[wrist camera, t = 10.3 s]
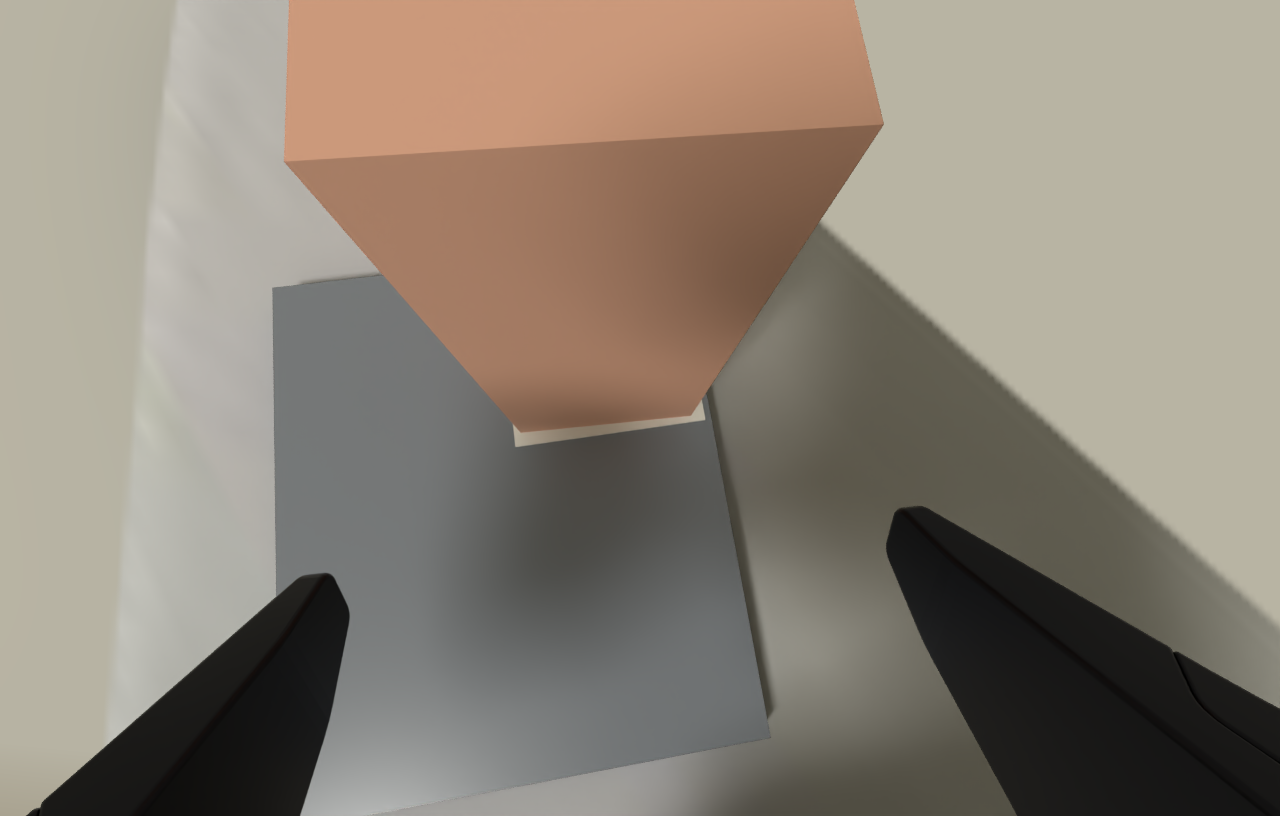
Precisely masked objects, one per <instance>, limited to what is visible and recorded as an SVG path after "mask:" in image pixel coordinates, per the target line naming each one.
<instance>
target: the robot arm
mask: <svg viewBox="0 0 1280 816" xmlns="http://www.w3.org/2000/svg"><path fill="white" fill-rule="evenodd" d="M886 551H887V556H888V559H889V562H890V564H891V566H892V569H893V571H894V574H895V576H896V578H897V581H898V583H899V586H900V588H901V590H902V593H903V595H904V598H905V600H906V602H907V605H908V607H909V610H910V612H911V614H912V617H913V619H914V622H915V624H916V626H917V629H918V631H919V633H920V635H921V638H922V640H923V642H924V644H925V646H926V648H927V650H928V652H929V654H930V656H931V658H932V660H933V661H934V663H935V665H936V667H937V669H938V671H939V673H940V674H941V676H942V678H943V680H944V682H945V684H946V685H947V687H948V689H949V691H950V693H951V695H952V696H953V698H954V700H955V702H956V704H957V706H958V707H959V709H960V711H961V713H962V715H963V717H964V719H965V720H966V722H967V724H968V726H969V728H970V730H971V731H972V733H973V735H974V737H975V739H976V741H977V742H978V744H979V746H980V748H981V750H982V752H983V753H984V755H985V757H986V759H987V761H988V763H989V765H990V766H991V768H992V770H993V772H994V774H995V776H996V777H997V779H998V781H999V783H1000V785H1001V787H1002V788H1003V790H1004V792H1005V794H1006V796H1007V798H1008V799H1009V801H1010V803H1011V805H1012V807H1013V809H1014V811H1015V812H1016V814H1017V816H1280V708H1278V707H1276V706H1274V705H1272V704H1270V703H1268V702H1266V701H1264V700H1263V699H1261V698H1259V697H1257V696H1255V695H1254V694H1252V693H1250V692H1248V691H1246V690H1245V689H1243V688H1241V687H1239V686H1237V685H1236V684H1234V683H1232V682H1230V681H1228V680H1227V679H1225V678H1223V677H1221V676H1219V675H1218V674H1216V673H1214V672H1212V671H1210V670H1209V669H1207V668H1205V667H1204V666H1202V665H1200V664H1198V663H1197V662H1195V661H1193V660H1191V659H1190V658H1188V657H1186V656H1184V655H1183V654H1181V653H1179V652H1173V651H1172V649H1171V648H1170V647H1168V646H1167V645H1165V644H1163V643H1161V642H1160V641H1158V640H1156V639H1154V638H1153V637H1151V636H1149V635H1147V634H1146V633H1144V632H1142V631H1140V630H1139V629H1137V628H1135V627H1134V626H1132V625H1130V624H1128V623H1127V622H1125V621H1123V620H1121V619H1120V618H1118V617H1116V616H1114V615H1113V614H1111V613H1109V612H1107V611H1106V610H1104V609H1102V608H1100V607H1099V606H1097V605H1095V604H1093V603H1092V602H1090V601H1088V600H1086V599H1085V598H1083V597H1081V596H1079V595H1078V594H1076V593H1074V592H1073V591H1071V590H1069V589H1067V588H1066V587H1064V586H1062V585H1060V584H1059V583H1057V582H1055V581H1053V580H1052V579H1050V578H1048V577H1046V576H1045V575H1043V574H1041V573H1039V572H1038V571H1036V570H1034V569H1032V568H1031V567H1029V566H1027V565H1025V564H1024V563H1022V562H1020V561H1018V560H1017V559H1015V558H1013V557H1012V556H1010V555H1008V554H1006V553H1005V552H1003V551H1001V550H999V549H998V548H996V547H994V546H992V545H991V544H989V543H987V542H985V541H984V540H982V539H980V538H978V537H977V536H975V535H973V534H971V533H970V532H968V531H966V530H964V529H963V528H961V527H959V526H957V525H956V524H954V523H952V522H950V521H949V520H947V519H945V518H944V517H942V516H940V515H938V514H937V513H935V512H933V511H931V510H930V509H928V508H926V507H923V506H913V507H904V508H899V509H897V510H896V512H895V513H894V516H893V520H892V524H891V527H890V531H889V535H888V539H887V543H886ZM349 621H350V612H349V607H348V605H347V603H346V601H345V598H344V596H343V594H342V592H341V590H340V588H339V586H338V584H337V582H336V580H335V578H334V576H333V575H331V574H330V573H317V574H308V575H303V576H301V577H299V578H297V579H296V580H295V581H294V582H292V583H291V584H290V585H289V586H288V587H287V588H286V589H284V590H283V591H282V592H281V593H280V594H279V595H278V596H276V597H275V598H274V599H273V600H272V601H271V602H270V603H269V604H267V605H266V606H265V607H264V608H263V609H262V610H261V611H259V612H258V613H257V614H256V615H255V616H254V617H253V618H251V619H250V620H249V621H248V622H247V623H246V624H245V625H243V626H242V627H241V628H240V629H239V630H238V631H237V632H235V633H234V634H233V635H232V636H231V637H230V638H229V639H227V640H226V641H225V642H224V643H223V644H222V645H221V646H219V647H218V648H217V649H216V650H215V651H214V652H213V653H211V654H210V655H209V656H208V657H207V658H206V659H205V660H204V661H202V662H201V663H200V664H199V665H198V666H197V667H196V668H194V669H193V670H192V671H191V672H190V673H189V674H188V675H186V676H185V677H184V678H183V679H182V680H181V681H180V682H178V683H177V684H176V685H175V686H174V687H173V688H172V689H170V690H169V691H168V692H167V693H166V694H165V695H164V696H162V697H161V698H160V699H159V700H158V701H157V702H156V703H154V704H153V705H152V706H151V707H150V708H149V709H148V710H146V711H145V712H144V713H143V714H142V715H141V716H140V717H138V718H137V719H136V720H135V721H134V722H133V723H132V724H131V725H129V726H128V727H127V728H126V729H125V730H124V731H123V732H121V733H120V734H119V735H118V736H117V737H116V738H115V739H113V740H112V741H111V742H110V743H109V744H108V745H107V746H105V747H104V748H103V749H102V750H101V751H100V752H99V753H97V754H96V755H95V756H94V757H93V758H92V759H91V760H89V761H88V762H87V763H86V764H85V765H84V766H83V767H81V769H79V770H78V771H77V772H76V773H75V774H74V775H72V776H71V777H70V778H69V779H68V780H67V781H65V782H64V783H63V784H62V785H61V786H60V787H59V788H58V789H57V790H56V791H54V792H53V793H52V794H51V795H49V796H48V797H47V798H46V799H45V800H44V801H43V802H42V804H41V807H40V808H36V809H34V810H32V811H31V812H30V813H29V814H28V815H26V816H300V815H301V812H302V809H303V806H304V803H305V799H306V796H307V793H308V790H309V787H310V783H311V780H312V777H313V774H314V770H315V767H316V764H317V761H318V758H319V754H320V751H321V748H322V745H323V742H324V738H325V735H326V731H327V728H328V724H329V720H330V716H331V712H332V707H333V703H334V698H335V693H336V687H337V682H338V677H339V672H340V667H341V662H342V657H343V652H344V647H345V642H346V637H347V632H348V627H349Z"/></svg>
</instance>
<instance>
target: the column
mask: <svg viewBox="0 0 1280 816" xmlns="http://www.w3.org/2000/svg"><path fill="white" fill-rule="evenodd" d="M883 125H884V123H883V119H882V114H881V110H880V106H879V103H878V98H877V94H876V90H875V85H874V81H873V77H872V73H871V69H870V65H869V60H868V56H867V52H866V48H865V44H864V40H863V35H862V32H861V27H860V23H859V20H858V15H857V11H856V6H855V2H854V0H289V22H288V54H287V86H286V118H285V150H284V162H285V163H286V164H287V166H288V167H289V168H290V169H291V170H292V171H293V172H294V174H295V175H296V176H297V177H298V178H299V179H300V180H301V182H302V183H303V184H304V185H305V186H306V187H307V188H308V190H309V191H310V192H311V193H312V194H313V195H314V196H315V198H316V199H317V200H318V201H319V202H320V203H321V204H322V206H323V207H324V208H325V209H326V210H327V211H328V213H329V214H330V215H331V216H332V217H333V218H334V219H335V221H336V222H337V223H338V224H339V225H340V226H341V227H342V229H343V230H344V231H345V232H346V233H347V234H348V235H349V237H350V238H351V239H352V240H353V241H354V242H355V243H356V245H357V246H358V247H359V248H360V249H361V250H362V251H363V253H364V254H365V255H366V256H367V257H368V258H369V260H370V261H371V262H372V263H373V264H374V265H375V266H376V268H377V269H378V270H379V271H380V272H381V273H382V274H383V276H384V277H385V278H386V279H387V280H388V281H389V282H390V284H391V285H392V286H393V287H394V288H395V289H396V290H397V292H398V293H399V294H400V295H401V296H402V297H403V298H404V300H405V301H406V302H407V303H408V304H409V305H410V307H411V308H412V309H413V310H414V311H415V312H416V313H417V315H418V316H419V317H420V318H421V319H422V320H423V321H424V323H425V324H426V325H427V326H428V327H429V328H430V329H431V331H432V332H433V333H434V334H435V335H436V336H437V337H438V339H439V340H440V341H441V342H442V343H443V344H444V345H445V347H446V348H447V349H448V350H449V351H450V352H451V354H452V355H453V356H454V357H455V358H456V359H457V360H458V362H459V363H460V364H461V365H462V366H463V367H464V368H465V370H466V371H467V372H468V373H469V374H470V375H471V376H472V378H473V379H474V380H475V381H476V382H477V383H478V384H479V386H480V387H481V388H482V389H483V390H484V391H485V392H486V394H487V395H488V396H489V397H490V398H491V399H492V401H493V402H494V403H495V404H496V405H497V406H498V407H499V409H500V410H501V411H502V412H503V413H504V414H505V415H506V417H507V418H508V419H509V420H510V421H511V422H512V423H513V425H514V426H515V427H516V428H517V429H518V430H519V431H520V433H523V432H533V431H543V430H553V429H563V428H573V427H583V426H593V425H603V424H613V423H623V422H633V421H643V420H653V419H663V418H673V417H683V416H691V415H692V413H693V412H694V410H695V409H696V407H697V406H698V404H699V403H700V401H701V400H702V398H703V397H704V395H705V394H706V392H707V391H708V389H709V388H710V386H711V385H712V383H713V382H714V380H715V379H716V377H717V375H718V374H719V372H720V371H721V369H722V368H723V366H724V365H725V363H726V362H727V360H728V359H729V357H730V356H731V354H732V353H733V351H734V350H735V348H736V347H737V345H738V344H739V342H740V341H741V339H742V338H743V336H744V335H745V333H746V332H747V330H748V329H749V327H750V326H751V324H752V323H753V321H754V320H755V318H756V317H757V315H758V314H759V312H760V311H761V309H762V308H763V306H764V305H765V303H766V302H767V300H768V298H769V297H770V295H771V294H772V292H773V291H774V289H775V288H776V286H777V285H778V283H779V282H780V280H781V279H782V277H783V276H784V274H785V273H786V271H787V270H788V268H789V267H790V265H791V264H792V262H793V261H794V259H795V258H796V256H797V255H798V253H799V252H800V250H801V249H802V247H803V246H804V244H805V243H806V241H807V240H808V238H809V237H810V235H811V234H812V232H813V231H814V229H815V228H816V226H817V225H818V223H819V221H820V220H821V218H822V217H823V215H824V214H825V212H826V211H827V209H828V207H829V206H830V205H831V203H832V202H833V200H834V199H835V197H836V196H837V194H838V193H839V191H840V190H841V188H842V187H843V185H844V184H845V182H846V181H847V179H848V178H849V176H850V175H851V173H852V172H853V170H854V169H855V167H856V166H857V164H858V163H859V161H860V160H861V158H862V156H863V155H864V153H865V152H866V150H867V149H868V148H869V146H870V144H871V143H872V141H873V140H874V138H875V137H876V135H877V134H878V132H879V131H880V129H881V128H882V126H883Z"/></svg>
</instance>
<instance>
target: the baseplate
mask: <svg viewBox="0 0 1280 816" xmlns="http://www.w3.org/2000/svg"><path fill="white" fill-rule="evenodd" d="M272 290H273V370H274V449H275V529H276V596H278V595H279V594H280V593H281V592H282V591H283V590H284V589H286V588H287V587H288V586H289V585H290V584H291V583H292V582H294V581H295V580H296V579H297V578H299V577H301V576H303V575H308V574H317V573H330V574H331V575H333V576H334V578H335V580H336V582H337V584H338V586H339V588H340V590H341V592H342V594H343V596H344V598H345V601H346V603H347V605H348V607H349V612H350V621H349V627H348V632H347V637H346V642H345V647H344V652H343V657H342V662H341V667H340V672H339V677H338V682H337V687H336V693H335V698H334V703H333V707H332V712H331V716H330V720H329V724H328V728H327V731H326V735H325V738H324V742H323V745H322V748H321V751H320V754H319V758H318V761H317V764H316V767H315V770H314V774H313V777H312V780H311V783H310V787H309V790H308V793H307V796H306V799H305V803H304V806H303V809H302V812H301V815H300V816H369V815H374V814H379V813H384V812H389V811H395V810H400V809H405V808H410V807H415V806H421V805H426V804H431V803H436V802H441V801H446V800H452V799H457V798H462V797H467V796H472V795H477V794H483V793H488V792H493V791H498V790H503V789H508V788H514V787H519V786H524V785H529V784H534V783H540V782H545V781H550V780H555V779H560V778H565V777H571V776H576V775H581V774H586V773H591V772H596V771H602V770H607V769H612V768H617V767H622V766H627V765H633V764H638V763H643V762H648V761H653V760H659V759H664V758H669V757H674V756H679V755H684V754H690V753H695V752H700V751H705V750H710V749H715V748H721V747H726V746H731V745H736V744H741V743H746V742H752V741H757V740H762V739H767V738H771V737H770V731H769V726H768V721H767V715H766V710H765V704H764V699H763V694H762V688H761V683H760V678H759V672H758V667H757V661H756V656H755V651H754V645H753V640H752V635H751V629H750V624H749V618H748V613H747V608H746V602H745V597H744V592H743V586H742V581H741V575H740V570H739V565H738V559H737V554H736V549H735V543H734V538H733V532H732V527H731V522H730V516H729V511H728V506H727V500H726V495H725V489H724V484H723V479H722V473H721V468H720V462H719V457H718V452H717V446H716V441H715V436H714V430H713V425H712V419H711V414H710V409H709V403H708V398H707V393H706V394H705V395H704V397H703V398H702V400H701V401H700V403H699V404H698V406H697V407H696V409H695V410H694V412H693V413H692V415H691V416H683V417H673V418H663V419H653V420H643V421H633V422H623V423H613V424H603V425H593V426H583V427H573V428H563V429H553V430H543V431H533V432H523V433H520V431H519V430H518V429H517V428H516V427H515V426H514V425H513V423H512V422H511V421H510V420H509V419H508V418H507V417H506V415H505V414H504V413H503V412H502V411H501V410H500V409H499V407H498V406H497V405H496V404H495V403H494V402H493V401H492V399H491V398H490V397H489V396H488V395H487V394H486V392H485V391H484V390H483V389H482V388H481V387H480V386H479V384H478V383H477V382H476V381H475V380H474V379H473V378H472V376H471V375H470V374H469V373H468V372H467V371H466V370H465V368H464V367H463V366H462V365H461V364H460V363H459V362H458V360H457V359H456V358H455V357H454V356H453V355H452V354H451V352H450V351H449V350H448V349H447V348H446V347H445V345H444V344H443V343H442V342H441V341H440V340H439V339H438V337H437V336H436V335H435V334H434V333H433V332H432V331H431V329H430V328H429V327H428V326H427V325H426V324H425V323H424V321H423V320H422V319H421V318H420V317H419V316H418V315H417V313H416V312H415V311H414V310H413V309H412V308H411V307H410V305H409V304H408V303H407V302H406V301H405V300H404V298H403V297H402V296H401V295H400V294H399V293H398V292H397V290H396V289H395V288H394V287H393V286H392V285H391V284H390V282H389V281H388V280H387V279H386V278H385V277H384V276H383V275H380V276H371V277H362V278H354V279H345V280H336V281H328V282H319V283H310V284H302V285H293V286H284V287H275V288H272Z"/></svg>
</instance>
